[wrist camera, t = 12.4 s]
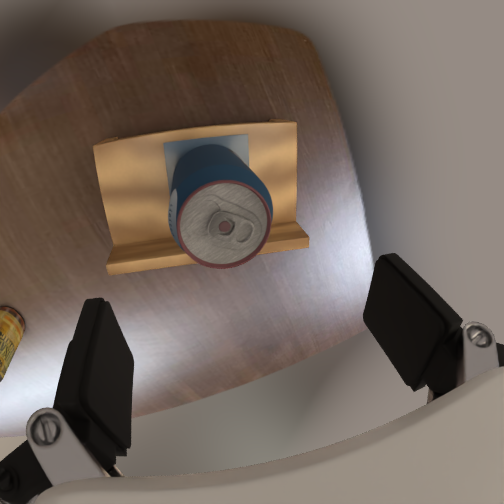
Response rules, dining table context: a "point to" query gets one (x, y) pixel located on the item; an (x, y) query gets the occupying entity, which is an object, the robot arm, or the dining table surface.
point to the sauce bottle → (9, 336)
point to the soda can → (218, 208)
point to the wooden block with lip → (160, 182)
